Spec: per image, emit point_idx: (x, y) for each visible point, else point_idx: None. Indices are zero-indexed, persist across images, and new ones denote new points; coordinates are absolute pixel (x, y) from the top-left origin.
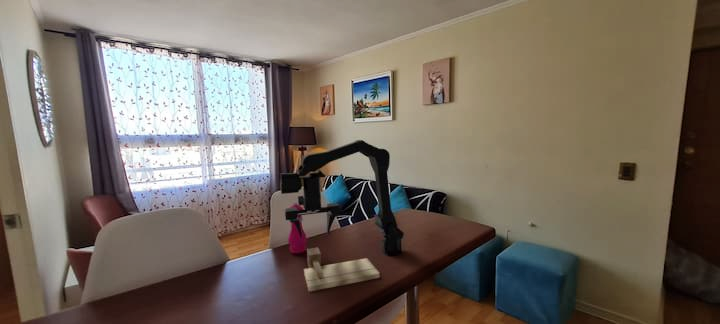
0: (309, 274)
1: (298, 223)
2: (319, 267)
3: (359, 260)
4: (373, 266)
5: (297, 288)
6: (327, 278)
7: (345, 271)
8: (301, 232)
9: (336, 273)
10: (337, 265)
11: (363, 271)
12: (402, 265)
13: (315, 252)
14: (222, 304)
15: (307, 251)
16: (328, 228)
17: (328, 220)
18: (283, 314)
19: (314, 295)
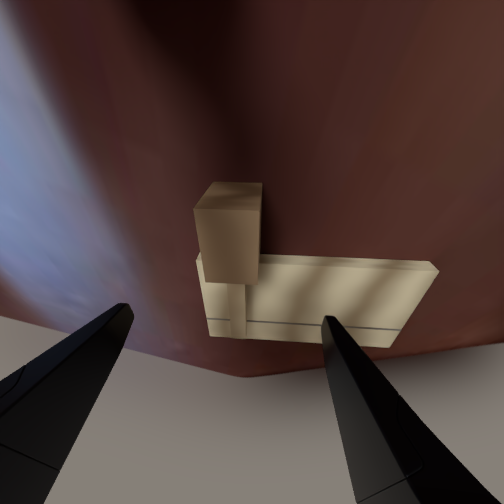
0: (213, 294)
1: (33, 501)
2: (241, 316)
3: (400, 276)
4: (405, 321)
5: (186, 308)
6: (258, 325)
7: (315, 315)
8: (112, 367)
9: (288, 315)
10: (310, 279)
11: (359, 330)
12: (496, 315)
13: (236, 266)
14: (38, 304)
15: (198, 236)
16: (334, 390)
17: (365, 497)
18: (171, 356)
19: (223, 337)
